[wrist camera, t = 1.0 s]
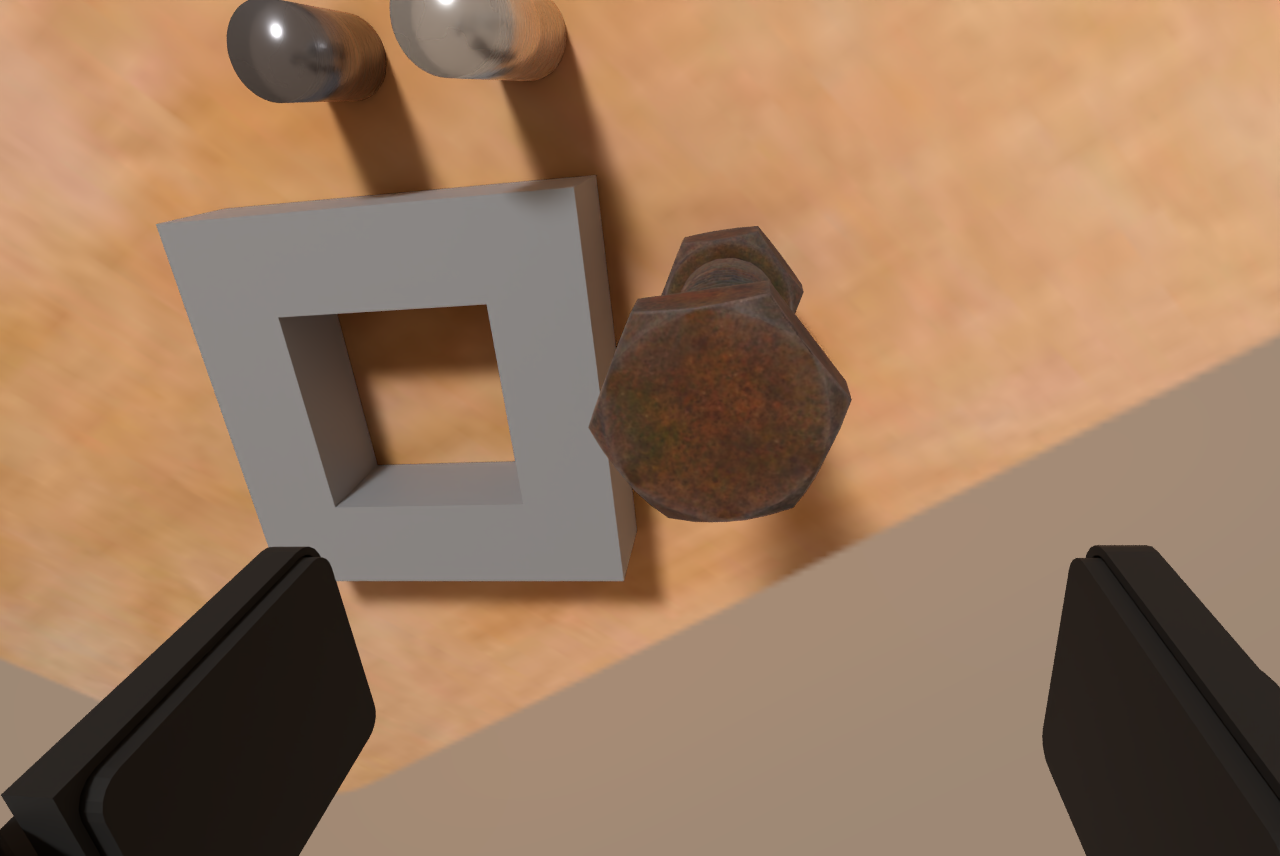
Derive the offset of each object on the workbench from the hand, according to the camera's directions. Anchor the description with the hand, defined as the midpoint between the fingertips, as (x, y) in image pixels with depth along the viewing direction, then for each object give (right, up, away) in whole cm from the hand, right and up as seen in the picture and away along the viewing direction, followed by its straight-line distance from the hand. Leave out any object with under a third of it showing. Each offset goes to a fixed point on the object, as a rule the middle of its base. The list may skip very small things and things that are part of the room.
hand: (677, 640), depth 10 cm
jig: (-9, +5, +24) cm, 26 cm away
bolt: (+3, +9, +20) cm, 22 cm away
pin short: (-12, +17, +19) cm, 28 cm away
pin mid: (-5, +17, +17) cm, 25 cm away
